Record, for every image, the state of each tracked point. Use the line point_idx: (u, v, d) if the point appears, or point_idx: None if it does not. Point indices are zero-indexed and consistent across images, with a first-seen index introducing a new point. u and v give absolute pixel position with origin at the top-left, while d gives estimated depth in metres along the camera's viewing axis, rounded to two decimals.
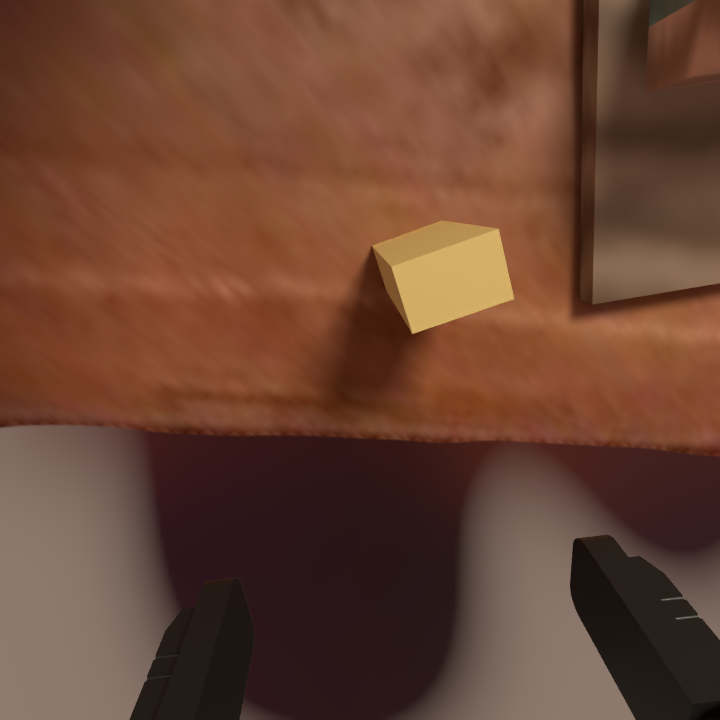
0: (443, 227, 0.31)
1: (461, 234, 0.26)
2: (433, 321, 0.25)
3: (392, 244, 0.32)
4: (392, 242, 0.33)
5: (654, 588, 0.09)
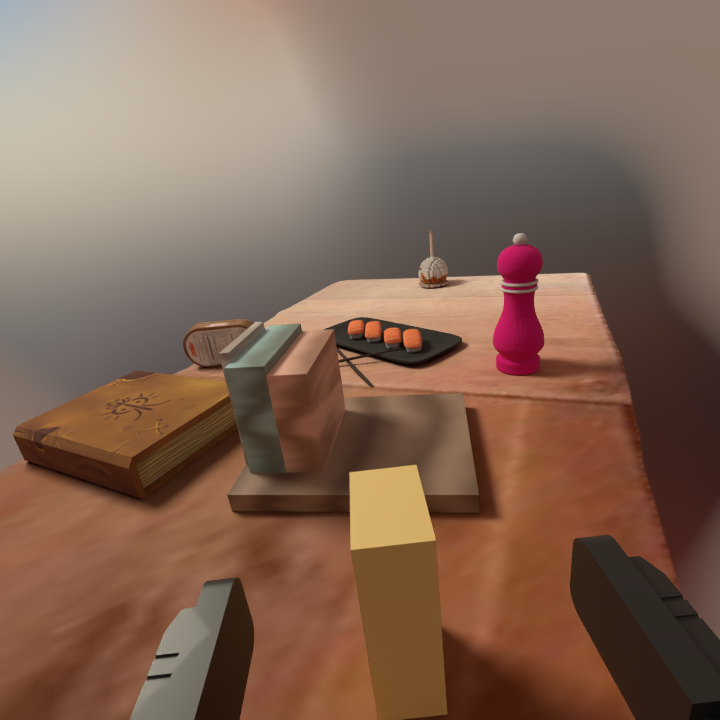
0: None
1: None
2: (424, 520, 0.22)
3: None
4: None
5: (654, 588, 0.09)
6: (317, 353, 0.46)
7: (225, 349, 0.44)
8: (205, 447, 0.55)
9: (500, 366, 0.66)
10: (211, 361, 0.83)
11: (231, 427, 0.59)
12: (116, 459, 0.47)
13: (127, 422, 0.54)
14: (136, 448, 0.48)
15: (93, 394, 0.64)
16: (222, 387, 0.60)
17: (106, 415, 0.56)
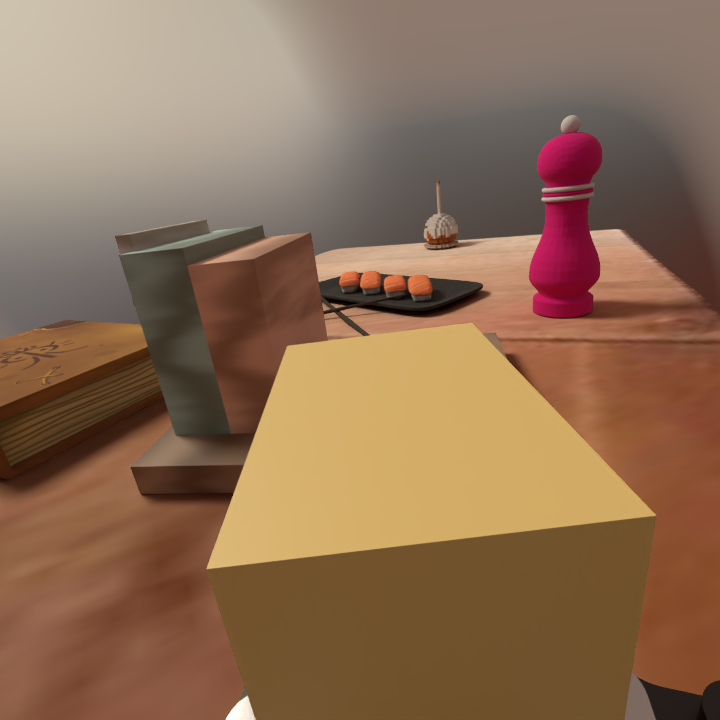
0: None
1: None
2: (553, 438, 0.05)
3: None
4: None
5: None
6: (279, 246, 0.29)
7: None
8: (126, 410, 0.38)
9: (539, 308, 0.50)
10: None
11: None
12: None
13: (11, 371, 0.37)
14: None
15: None
16: None
17: None
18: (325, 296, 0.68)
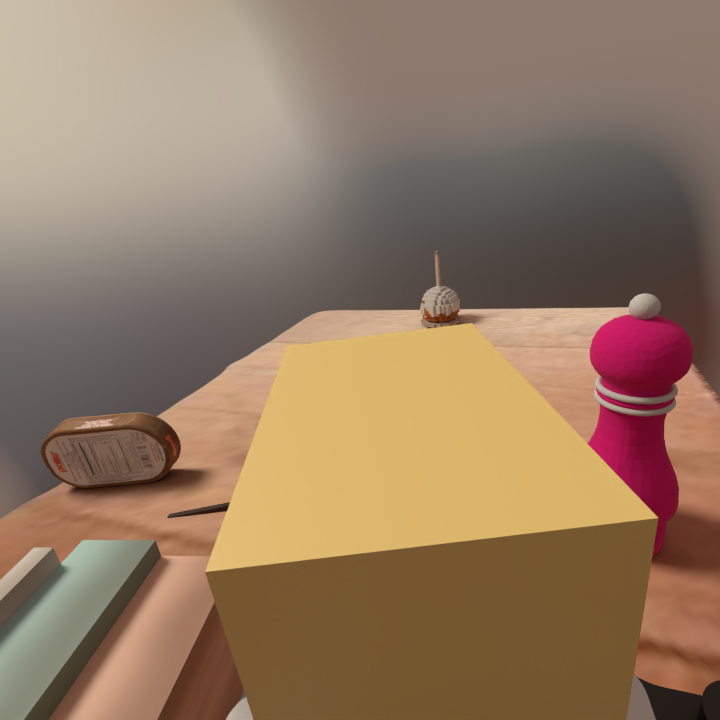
0: None
1: None
2: (553, 440, 0.05)
3: None
4: None
5: None
6: None
7: None
8: None
9: None
10: (91, 479, 0.51)
11: None
12: None
13: None
14: None
15: None
16: None
17: None
18: None
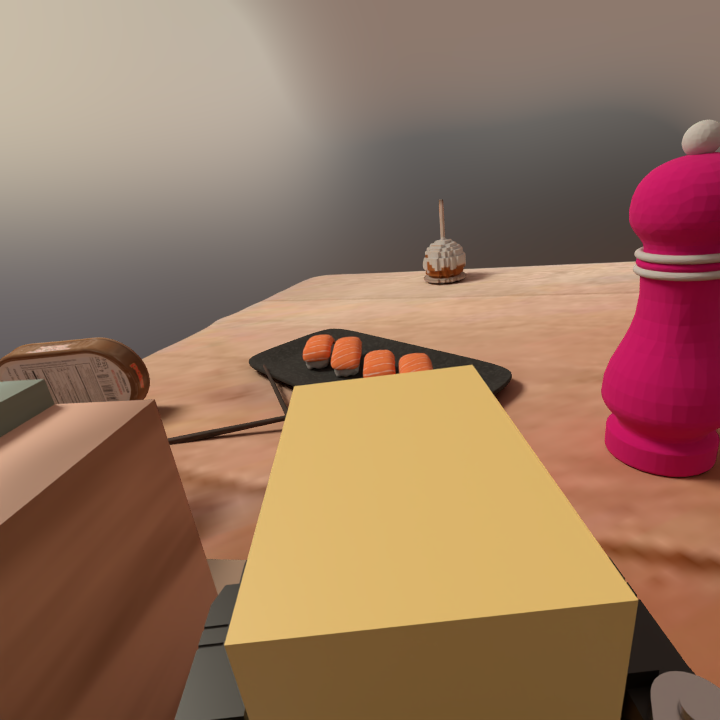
0: None
1: None
2: (546, 507, 0.05)
3: None
4: None
5: None
6: None
7: None
8: None
9: (622, 451, 0.29)
10: None
11: None
12: None
13: None
14: None
15: None
16: None
17: None
18: (280, 379, 0.47)
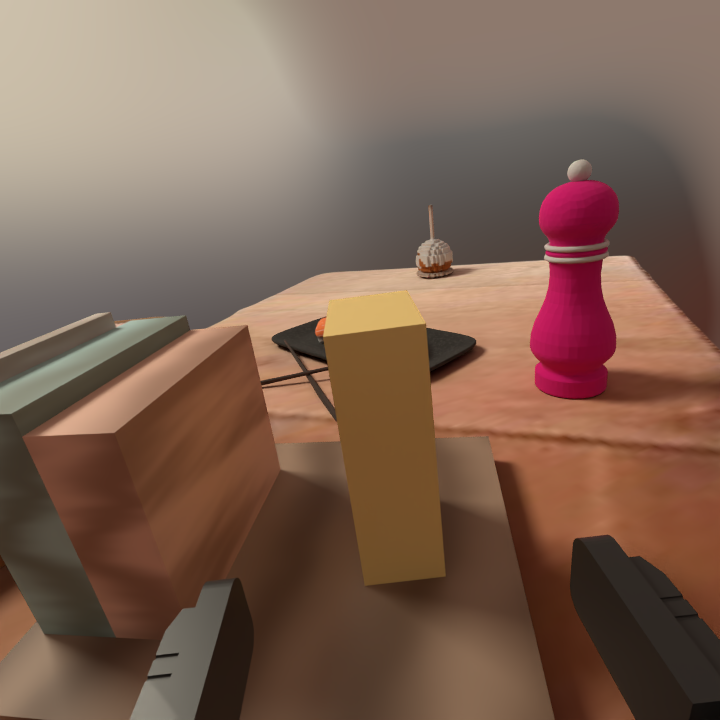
0: None
1: None
2: (413, 314, 0.18)
3: None
4: None
5: (654, 588, 0.09)
6: (181, 375, 0.21)
7: None
8: None
9: (543, 384, 0.41)
10: None
11: None
12: None
13: None
14: None
15: None
16: None
17: None
18: (298, 349, 0.60)
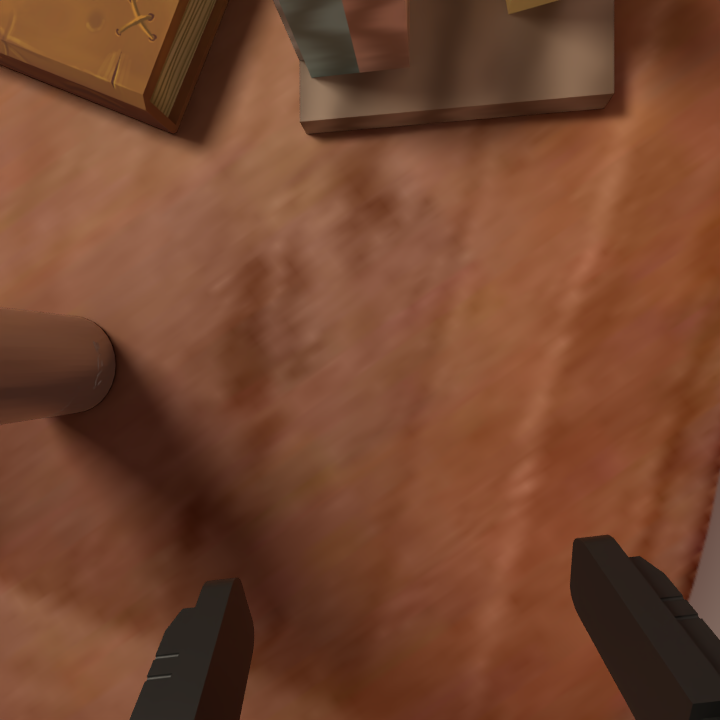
0: None
1: None
2: None
3: None
4: None
5: (654, 588, 0.09)
6: None
7: None
8: (211, 26, 0.39)
9: None
10: None
11: None
12: (121, 93, 0.36)
13: (86, 3, 0.36)
14: (136, 73, 0.35)
15: None
16: None
17: None
18: None
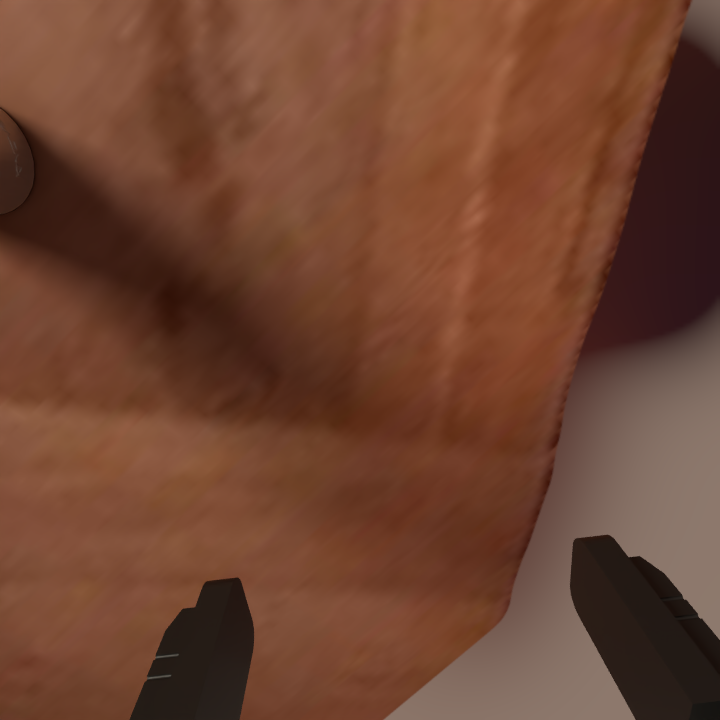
0: None
1: None
2: None
3: None
4: None
5: (654, 588, 0.09)
6: None
7: None
8: None
9: None
10: None
11: None
12: None
13: None
14: None
15: None
16: None
17: None
18: None
